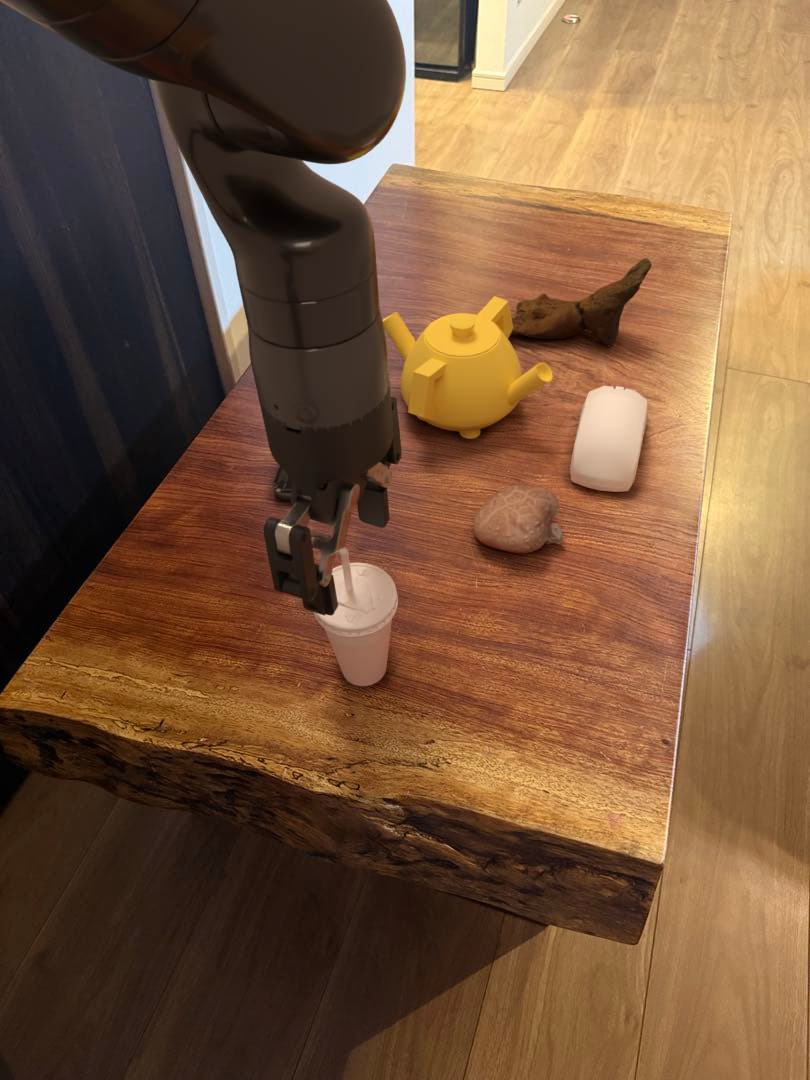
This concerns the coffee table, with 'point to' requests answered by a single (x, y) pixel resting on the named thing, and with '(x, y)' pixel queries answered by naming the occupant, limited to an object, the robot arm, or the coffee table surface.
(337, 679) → the coffee table surface
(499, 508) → the mushroom
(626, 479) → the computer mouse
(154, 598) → the coffee table surface
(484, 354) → the teapot
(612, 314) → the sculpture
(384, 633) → the smoothie
